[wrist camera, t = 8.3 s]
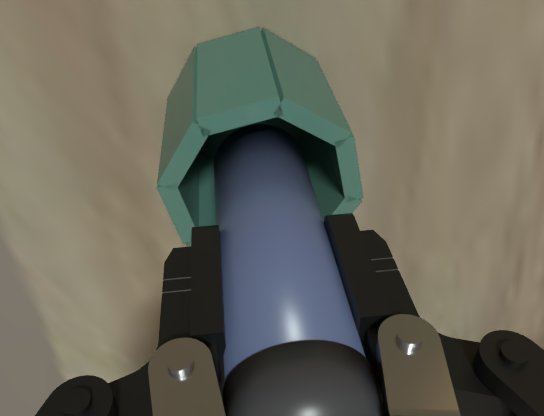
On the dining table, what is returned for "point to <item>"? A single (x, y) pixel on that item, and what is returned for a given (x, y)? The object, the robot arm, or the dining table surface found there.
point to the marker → (283, 289)
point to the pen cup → (252, 123)
